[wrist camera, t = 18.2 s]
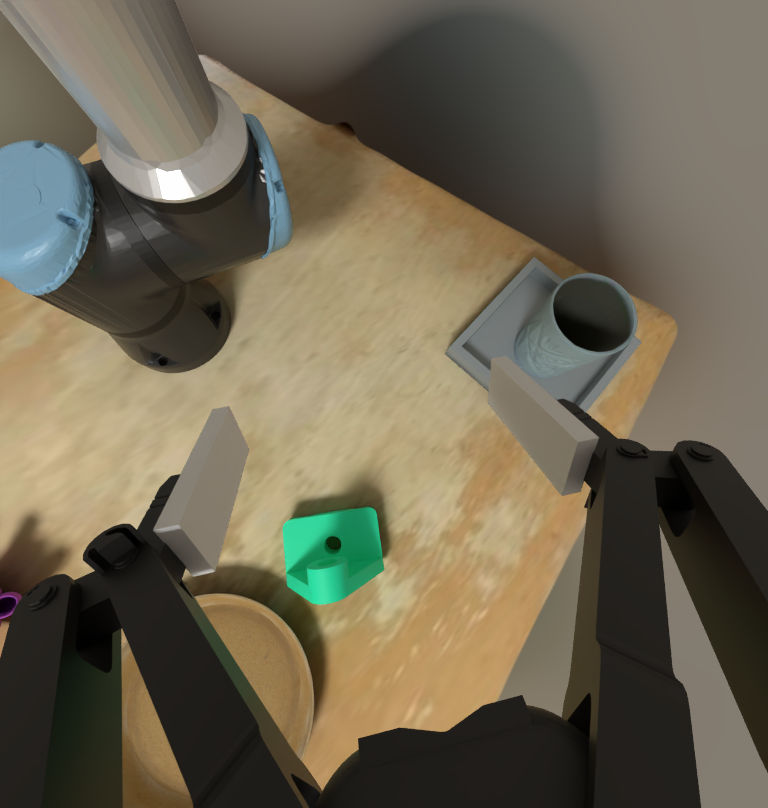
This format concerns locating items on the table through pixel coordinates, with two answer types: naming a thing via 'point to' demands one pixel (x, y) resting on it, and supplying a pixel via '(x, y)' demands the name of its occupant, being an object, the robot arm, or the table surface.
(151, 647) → the robot arm
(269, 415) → the table surface
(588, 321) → the grey green cup
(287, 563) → the camera mount
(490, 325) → the tray
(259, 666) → the plant saucer
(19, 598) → the purple coral
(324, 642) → the table surface
